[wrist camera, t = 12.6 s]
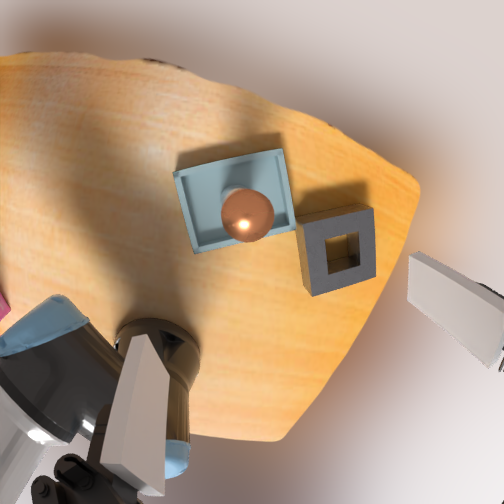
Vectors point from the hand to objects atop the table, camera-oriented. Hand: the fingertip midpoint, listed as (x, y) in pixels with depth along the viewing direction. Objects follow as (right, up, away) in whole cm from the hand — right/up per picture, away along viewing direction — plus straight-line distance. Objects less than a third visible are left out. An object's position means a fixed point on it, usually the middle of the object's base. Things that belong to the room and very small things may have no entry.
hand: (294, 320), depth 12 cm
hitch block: (+10, +4, +29) cm, 31 cm away
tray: (-4, +10, +25) cm, 27 cm away
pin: (-4, +10, +24) cm, 26 cm away
